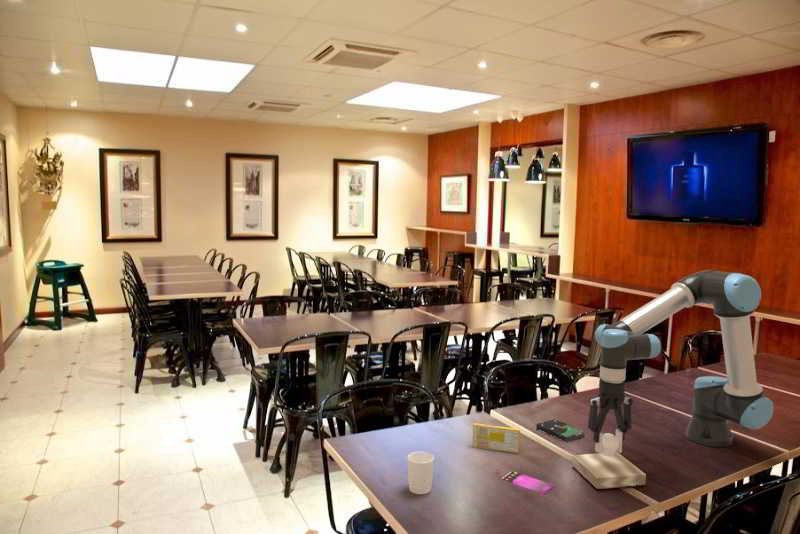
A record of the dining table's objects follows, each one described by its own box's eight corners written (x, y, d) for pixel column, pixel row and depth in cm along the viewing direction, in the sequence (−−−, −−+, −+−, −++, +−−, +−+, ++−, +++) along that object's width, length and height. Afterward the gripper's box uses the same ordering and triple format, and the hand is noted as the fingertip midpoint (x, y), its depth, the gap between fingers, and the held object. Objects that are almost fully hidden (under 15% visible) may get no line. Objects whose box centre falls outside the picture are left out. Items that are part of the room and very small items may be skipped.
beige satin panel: (616, 463, 190) (617, 452, 190) (645, 487, 174) (645, 474, 174) (571, 466, 187) (572, 455, 187) (596, 490, 172) (597, 478, 171)
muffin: (613, 460, 176) (614, 438, 175) (594, 454, 180) (595, 433, 179) (621, 454, 180) (622, 433, 179) (602, 448, 184) (603, 427, 184)
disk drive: (535, 431, 219) (566, 444, 206) (535, 423, 218) (566, 436, 206) (554, 425, 224) (585, 438, 212) (554, 418, 224) (585, 430, 212)
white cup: (405, 483, 175) (406, 451, 174) (431, 482, 176) (431, 451, 175) (408, 496, 167) (408, 463, 166) (435, 495, 168) (435, 462, 167)
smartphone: (511, 472, 184) (511, 470, 184) (555, 486, 175) (555, 483, 175) (499, 481, 179) (499, 478, 179) (544, 495, 169) (544, 493, 169)
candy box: (519, 451, 199) (520, 428, 198) (518, 454, 197) (519, 430, 196) (473, 444, 204) (473, 422, 203) (472, 447, 202) (472, 424, 201)
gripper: (633, 375, 183) (629, 444, 185) (577, 377, 180) (574, 448, 182) (647, 382, 175) (642, 454, 178) (589, 384, 172) (585, 458, 175)
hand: (608, 451), depth 180 cm, fingers closed on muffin, 6 cm apart
